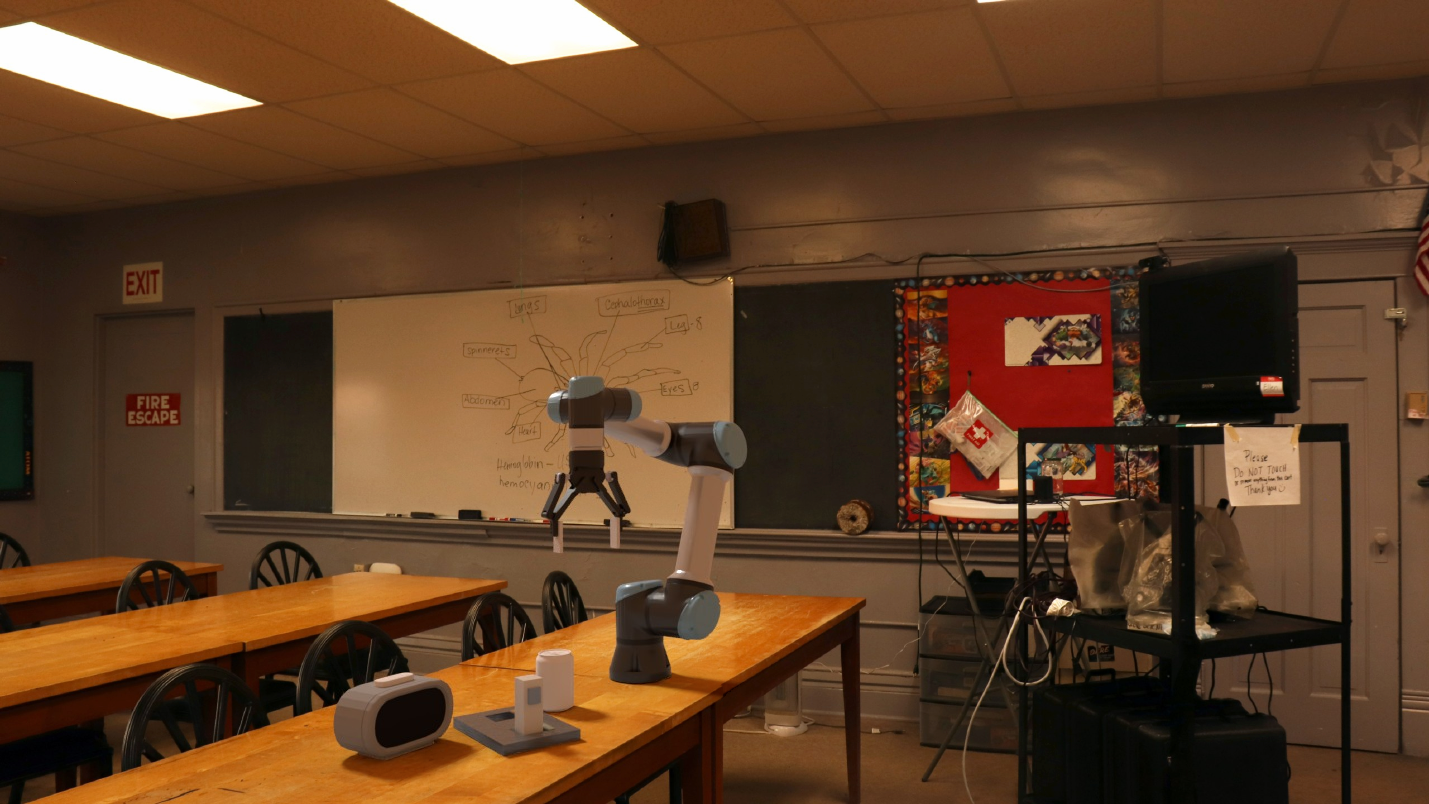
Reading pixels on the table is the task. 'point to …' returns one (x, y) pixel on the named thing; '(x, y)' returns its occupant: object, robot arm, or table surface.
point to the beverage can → (556, 679)
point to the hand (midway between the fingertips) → (587, 550)
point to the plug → (528, 704)
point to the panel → (513, 731)
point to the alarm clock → (393, 715)
